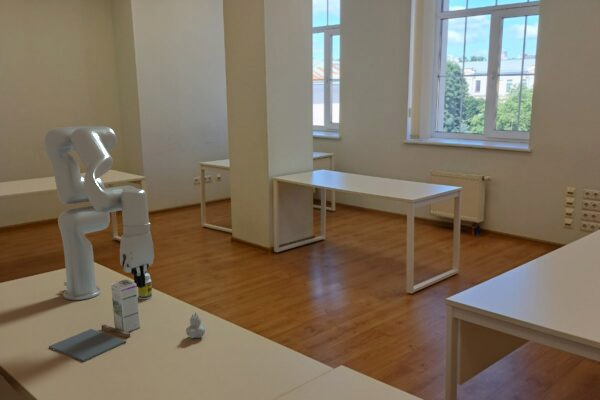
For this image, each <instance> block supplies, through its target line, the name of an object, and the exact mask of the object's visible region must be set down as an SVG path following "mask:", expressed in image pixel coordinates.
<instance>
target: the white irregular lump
mask: <svg viewBox="0 0 600 400" xmlns="http://www.w3.org/2000/svg"><path fill="white" fill-rule="evenodd" d="M189 321H190V322H189V324H190V325H188V326H187V327H186V329H185V332H186V335H187V336H189V338H190V339H200V338H202V337H203V336H205V332H206V328H205V327H204V324H202V318H201V317H200V316H199V315H198V314H197V311H195V312H194V314H192V315H191V317H190V319H189Z"/></svg>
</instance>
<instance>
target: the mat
mask: <svg viewBox="0 0 600 400" xmlns="http://www.w3.org/2000/svg"><path fill="white" fill-rule="evenodd" d="M126 343H127V340H124V339H121V338H119V337H116V336H113V335H110V334H107V333H105V332H101V331H99V330H96V329H93V328H89V329H87V330H85V331H83V332H80V333H77V334H75V335H73V336H70V337H67V338H65V339H63V340H59V341H58V342H56V343H53V344H51V345H49V346H48V349H51V350H53V349H54V350H53V351H56V352H57V353H58V352H59V353H60V354H63V355H66V356H68V357H70V358H72V359H75V360H78V361H80V362H83V363H85V362H87V361H88V360H91V359H93V358H96V357H99V356H100V355H102V354H104V353H106V352H109V351H111V350H113V349H115V348H117V347H120V346H122V345H124V344H126Z"/></svg>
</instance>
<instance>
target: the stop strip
mask: <svg viewBox="0 0 600 400" xmlns="http://www.w3.org/2000/svg"><path fill="white" fill-rule="evenodd" d="M101 330H103V331H106V332H109V333H111V334H114V335H117V336H120V337H123V338H126V339H129V338H131V333H130V332H125V331H122V330H119V329H116V328H115V327H113V326H109V325H107V324H102V325H101Z"/></svg>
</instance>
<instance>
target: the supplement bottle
mask: <svg viewBox="0 0 600 400" xmlns="http://www.w3.org/2000/svg"><path fill="white" fill-rule="evenodd" d="M145 285H146V286H145V287H142V288H139V287H137V297H138V300H149V299H152V298H153V289H152V288H153V287H152V279H151V275H150V273H148V272H147V273H146V274H145Z"/></svg>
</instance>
